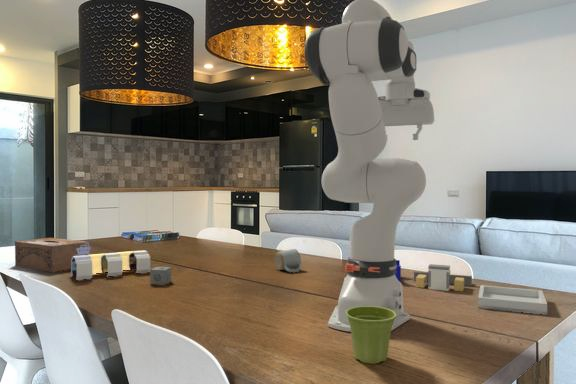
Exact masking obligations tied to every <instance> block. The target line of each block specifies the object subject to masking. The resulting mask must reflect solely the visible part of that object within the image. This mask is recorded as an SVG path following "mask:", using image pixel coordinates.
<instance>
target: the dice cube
mask: <svg viewBox="0 0 576 384" xmlns="http://www.w3.org/2000/svg"><path fill="white" fill-rule="evenodd" d="M149 277H150V278H149V280H150V281H149V283H150V284H159V285H158V286H166V285H168V284H170V283H169V282H171V283H172V266H171V267H170V266H169V267H168V266H156V267H153V268H150V273H149ZM167 283H168V284H167ZM150 284H149V285H150ZM160 284H161V285H160ZM165 284H166V285H165Z"/></svg>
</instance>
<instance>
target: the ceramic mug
mask: <svg viewBox="0 0 576 384" xmlns="http://www.w3.org/2000/svg"><path fill="white" fill-rule="evenodd" d="M273 260H274V265H275V266H274V267H275V268H276V269H277V270H278V271H280V270H285V271H287V272H288V273H291V272H297V273H299V272H300V270H301V262H302V258H301V253H300V252H299V251H298V249H295V248H292V249H287V250H282V251H278V252H276V253H275V255H274V259H273Z"/></svg>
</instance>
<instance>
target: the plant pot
mask: <svg viewBox="0 0 576 384" xmlns="http://www.w3.org/2000/svg"><path fill="white" fill-rule="evenodd" d="M346 316H347V317H348V321H349V323H350V328H351V332H350V333H351V341H352V349H353V356H354V358H355V359H356V360H359V361H360V362H361V363H364V364H372V365H375V364H376V363H377V364H380V362H386V361H387V360H388V355H389V347H390V340H391V334H392V331H391V328H392V325H393V323H394V319H395V318H396V313H395V312H394V311H392V310H390V309H387V308H382V307H375V306H359V307H353V308H350V309H348V310H347V311H346Z"/></svg>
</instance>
